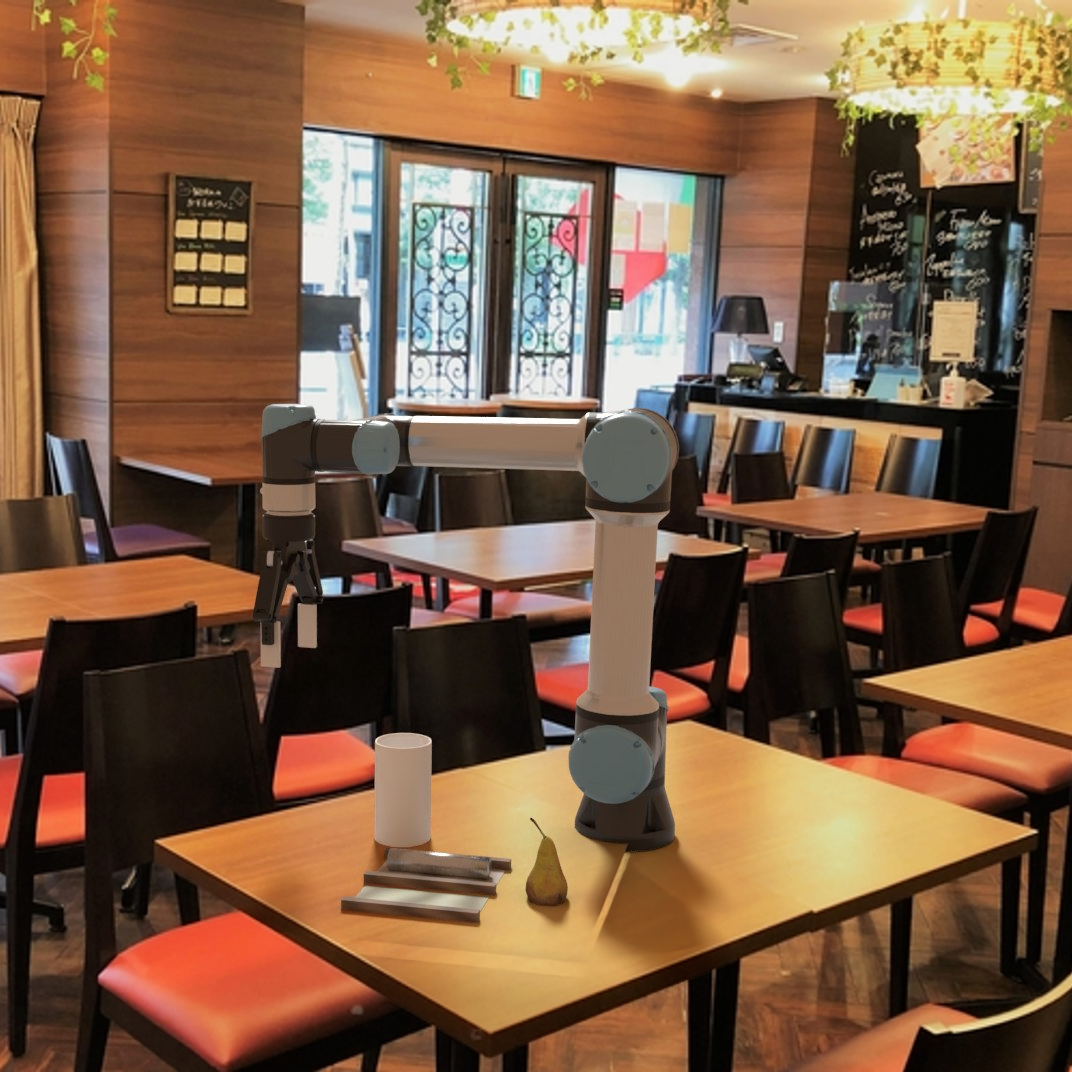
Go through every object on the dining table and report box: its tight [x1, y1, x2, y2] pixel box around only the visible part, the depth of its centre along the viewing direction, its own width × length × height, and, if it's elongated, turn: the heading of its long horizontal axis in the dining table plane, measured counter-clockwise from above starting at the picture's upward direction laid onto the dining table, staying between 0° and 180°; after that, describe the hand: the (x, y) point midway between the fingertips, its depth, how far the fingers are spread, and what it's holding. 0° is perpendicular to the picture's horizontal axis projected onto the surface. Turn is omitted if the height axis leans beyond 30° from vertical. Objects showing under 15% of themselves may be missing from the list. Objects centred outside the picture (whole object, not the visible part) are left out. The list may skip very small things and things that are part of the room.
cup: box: [373, 732, 433, 848], centre depth 219 cm, size 8×8×16 cm
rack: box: [340, 847, 512, 924], centre depth 201 cm, size 18×20×3 cm
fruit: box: [525, 817, 569, 907], centre depth 197 cm, size 6×6×12 cm
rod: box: [386, 847, 492, 879], centre depth 205 cm, size 14×3×3 cm, turn 79°
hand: (289, 656), depth 219 cm, fingers open, 13 cm apart
